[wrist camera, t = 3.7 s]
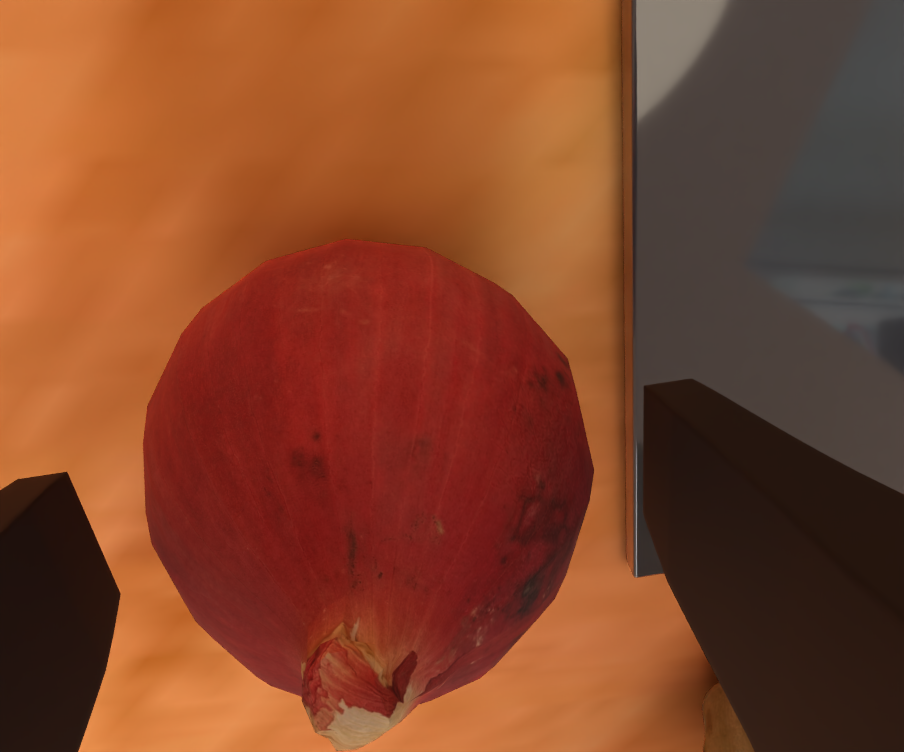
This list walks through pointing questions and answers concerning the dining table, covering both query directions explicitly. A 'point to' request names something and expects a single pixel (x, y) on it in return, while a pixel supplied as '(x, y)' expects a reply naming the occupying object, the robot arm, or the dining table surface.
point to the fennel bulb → (722, 724)
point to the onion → (365, 477)
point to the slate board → (766, 222)
